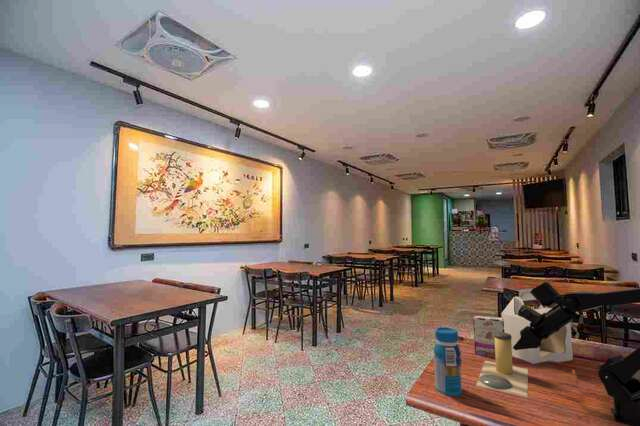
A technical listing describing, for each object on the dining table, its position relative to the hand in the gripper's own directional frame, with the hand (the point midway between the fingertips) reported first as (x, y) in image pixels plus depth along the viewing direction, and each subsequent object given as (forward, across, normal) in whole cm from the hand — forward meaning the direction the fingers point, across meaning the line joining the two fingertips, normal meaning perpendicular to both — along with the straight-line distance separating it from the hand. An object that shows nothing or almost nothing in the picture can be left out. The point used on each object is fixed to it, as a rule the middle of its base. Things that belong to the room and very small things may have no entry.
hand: (517, 345), depth 110 cm
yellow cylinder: (+10, 0, +4) cm, 11 cm away
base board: (+11, +5, +6) cm, 13 cm away
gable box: (+9, -27, +8) cm, 30 cm away
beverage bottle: (+18, +27, -1) cm, 32 cm away
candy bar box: (+18, -13, -1) cm, 23 cm away
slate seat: (+10, +11, +4) cm, 16 cm away
